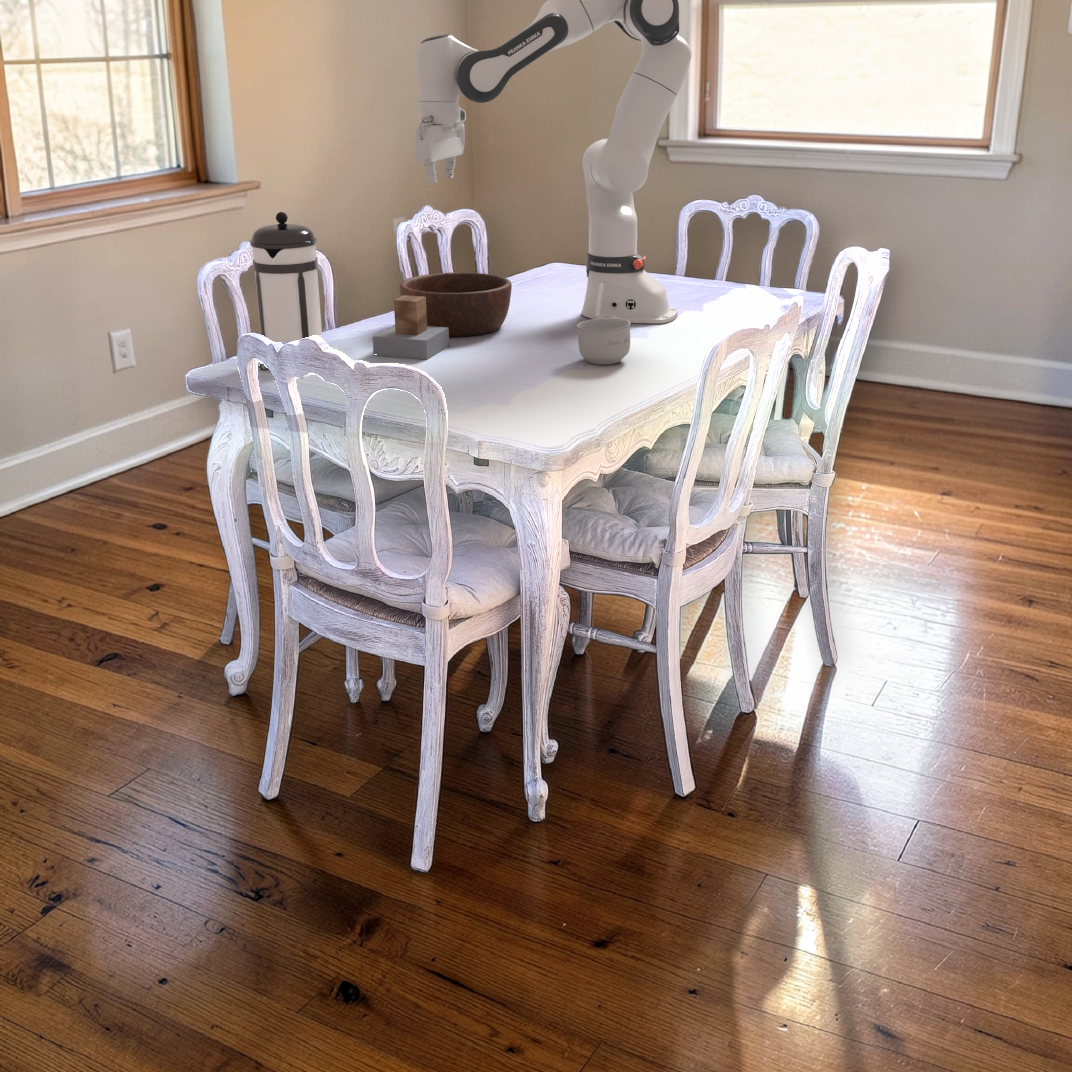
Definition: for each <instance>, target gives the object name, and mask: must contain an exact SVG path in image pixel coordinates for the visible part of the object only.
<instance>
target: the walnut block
mask: <svg viewBox="0 0 1072 1072" xmlns="http://www.w3.org/2000/svg"><path fill="white" fill-rule="evenodd" d="M393 308H394V309H393V311H394V312H393V313H394V314H393V315H394V325H395V334H406V335H419V334H421V333H423V332H425V331H426V330H427V314H426V297H422V296H406V295H403V296H401V295H400V296H399V297H397V298H396V299H393Z"/></svg>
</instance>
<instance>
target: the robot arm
mask: <svg viewBox="0 0 1072 1072" xmlns="http://www.w3.org/2000/svg"><path fill="white" fill-rule="evenodd" d="M612 22H614V24H615V25H617V26H618V28H620V30H621V31H623V33H624V34H626V36H628V37H629V38H631V39H633V40H635V41H639V42H641V53H640V56H639V60H638V62H637V63H636V65H635V68H634V69H633V70H632V71H633V72H632V73H631V76H630V78H629V79H628V82H627V84H626V86H625V88H624V90H623V91H622V93H621V97H620V98H619V100H618V103H617V104H616V107H615V115H614V119H613V122H612V125H611V129H610V133H609V135H608V138H602V139H600V140H596V141H595V142H593V143H592V144H591V145H589V146H588V147H587V148H586V150H585V151H584V153H583V156H582V160H581V161H582V162H581V163H582V169H583V173H584V186H585V194H586V196H585V197H586V204H587V210H588V252H587V254H586V261H585V264H586V265H585V267H586V268H585V269H586V270H585V271H586V277H587V283H586V291H585V297H584V301H583V306H582V309H581V313H580V314H581V315H582V316H583V317H586V318H589V319H591V320H592V319H598V318H611V317H618V318H619V319H625V320H628V321H630V323H631V324H666V323H669V322H672V321H673V320H675V319H676V318H677V317H678V310H677V308H676V307H672V306H669V305H670V304H669V297H668V293H667V289H666V287H664V285H662V284H661V282H659V281H658V280H656V278H655V277H653V276H651V274H649V273H648V272H647V271H646V270H645V269H646V268H645V265H646V262H647V261H646V259H647V258H646V255H645V256H642V255H641V254H639V253H638V251H637V250H638V247H637V246H638V216H637V213H636V208H635V202H634V194H633V193H635V192H637V191H638V190H640V189H641V188H642V187H643V186H644V185H645V183H646V182H647V179H648V176H649V169H650V168H649V166H650V163H651V160H652V157H653V154H654V151H655V147H656V145H657V141H658V138H659V135H660V133H661V129H662V127H663V125H664V123H665V121H666V119H667V117H668V114H669V113H670V111H671V109H672V107H673V105H674V103H675V101H676V99H677V96H678V94H679V93H680V90H681V88H682V85H683V84H684V80H685V78H686V75H687V73H688V69H689V67H690V63H691V59H692V48H691V46H690V45H689V44H688V42H687V41H686V40H685V39H684V38H683V37H682V36H680V35H679V33H680V3H679V0H546V1H545V2H544V3H543V5H541V7H540V10H539V12H538V14H537V16H536V17H535V19H534V20H533V21H532V22H531V23H530V24H529V25H528V26H527V27H526V28H525V29H523V30H522V31H520V32H518V33H517V34H516V35H514V36H512V37H511V38H510V39H508V40H506V41H505V42H504V43H502V44H501V45H499V46H497V47H495V48H493V49H488V50H478V49H477V48H473V47H471V46H470V45H468V44H465V43H463V42H461V41H460V40H458V39H457V38H456V37H454V36H453V35H452V34H450V33H449V34H441V35H440V34H439V35H436V36H431V37H427V38H425V39H423V40H422V41H421V42H420V43H419V45H418V48H417V54H416V55H417V57H416V79H417V83H418V89H419V93H418V97H417V102H418V104H417V108H418V109H417V110H418V126H417V127H416V129H415V135H414V138H415V140H414V157H415V160H416V162H417V163H424V166H423V167H424V169H425V172H426V175H427V182H428V183H429V184H434V183H437V182H438V180H439V179H438V173H437V171H436V167H437V165H436V164H437V162H438V161H441V160H444V162H445V167H444V169H443V176H444V178H446V179H453V178H454V174H455V173H454V170H455V166H456V161H457V159H456V157H457V156H461V155H463V153H464V150H465V134H466V133H465V132H466V131H465V129H466V128H465V123H464V122H466V120H467V112H466V111H465V110H464V109H463V108H462V107H461V106H460V105H459V102H460V101H459V98H460V95H462V96H465V98H467V99H468V100H470V101H471V102H474V103H481V104H485V103H489V102H491V101H493V100H494V99H496V98H497V97H498V96H499V95H500V94H501V93H502V91H503V90H504V89H505V87H506V85H507V84H508V82H509V81H510V80H511V78H512V77H513V76H515V75H516V74H517V73H518V72H520V71H521V70H523V69H525V68H526V67H527V66H529V65H530V64H532V63H533V62H535V61H536V60H538V59H539V58H541V57H542V56H544V55H545V54H548V53H551V52H552V51H554V50H557V49H561V48H564V47H568V46H570V45H572V44H574V43H577V42H579V41H580V40H583V39H584V38H586V37H588V36H590V35H591V34H592V33H594V32H596V31H597V30H599V29H601V28H602V27H604V26H605V25H607V24H610V23H612Z"/></svg>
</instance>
